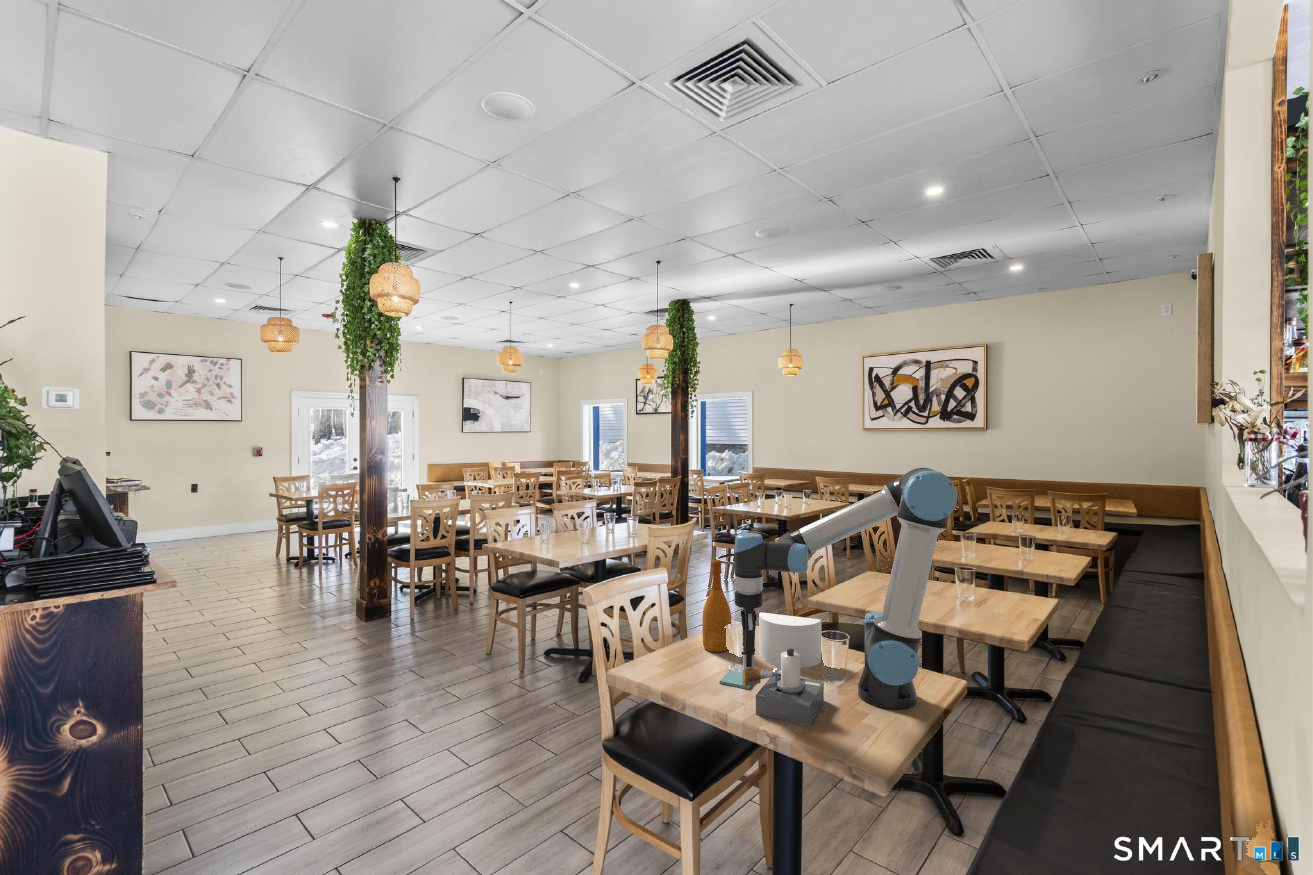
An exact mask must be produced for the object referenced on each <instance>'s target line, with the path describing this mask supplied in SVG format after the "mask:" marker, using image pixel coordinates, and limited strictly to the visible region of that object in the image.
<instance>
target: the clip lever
mask: <svg viewBox="0 0 1313 875" xmlns="http://www.w3.org/2000/svg"><path fill="white" fill-rule="evenodd" d="M742 672H743V686H745V687H746V686H750V685H753V686H754V685H757V684H761V680H764V679H769V678H770V677H773V676H781V667H780V666H775V665H774V666H773V667H772V669H771V670H767V671H762V672H761V667H759V666H755V667H754V668H750V669H746V670H742Z"/></svg>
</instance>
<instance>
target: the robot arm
mask: <svg viewBox="0 0 1313 875" xmlns="http://www.w3.org/2000/svg"><path fill="white" fill-rule="evenodd" d="M957 500H958V494H957V489H956V487H955V484H954V483H953V481H952V480H951V479H950V477H948V476H947V475H946V474H944V473H942V472H941V471H936V470H935V469H932V468H928V467H917V468H914V469H912V470H910V471H907V472H905V474H902V475H901V476H899V477H898V478H896V479H894V480H892V481H890V482H888V483H886V484H884V485H883V488H882V489H881V490H880V491H878V492H876V493H874V494H872V495H869V496H867V497H865V498H863V499H861V500H859V501H857V502H854V503H853V504H850V505H848V506H845V507H843V508H842V509H840V510H837V511H835V512H833V513H830V514H828V515H826V516H824V517H821V518H820V519H818V520H815V521H814V522H811V523H809V524H807V525H805V526H802V527H800V528H799V529H796V530H795V531H792V532H787V533H784V534H783V535H781V536H780V537H779V538H778V540H776V542H766V541H764V539H763V535H762V534H760V533H754V532H742V533H738V534H737V535H736V536H735V538H734V551H733V552H734V553H733V554H734V578H732V579H731V580H732V582H733V583H734V589H735V591H734V605H735V606H736V607H738V608H741V610H740V618H741V627H742V644H741V645H742V647H743V648H742V650H743V651H741V655H742V656H743V657H742V658H743V663H742V664H743V666H742V667H743V670H746V669H750V668H755V667H754V665H755V663H754V662H755V660H754V659H755V655H756V648H755V647H756V646H755V644H756V628H757V624H756V623H757V622H756V621H757V613H756V610H755V609H759V608H761V607H762V606H763V604H764V603H763V600H764V599H763V597H764V596H763V592H762V591H763V590H764V588H763V587H764V585H763V584H764V583H763V580H764V578H763V576H764V575H763V571H769V572H771V571H772V572H781V573H782V572H783V573H785V572H786V573H793V574H796V573H801V574H802V573H806V572H807V571H808V569H809V555H810V554H812V553H816V552H817V551H819V550H821V549H823V548H826V547H828V546H830V545H832V544H836V543H837V542H840V541H842V540H844V539H846V538H848V537H850V536H853V535H855V534H857V533H859V532H862V531H864V530H867V529H869V528H871V527H873V526H875V525H877V524H879V523H882V522H884V521H886V520H889V519H891V518H894V517H896V518H897V520H898V521H899V523H900V525H901V527H900V530H899V536H898V541H897V544H896V550H895V554H894V558H893V563H892V566H891V572H890V576H889V579H888V580H889V582H888V585H887V589H886V595H885V599H884V603H883V608H882V611H870V612H868V613H866V614H865V616H864V621H863V625H864V665H863V666H864V667H863V670H862V672H861V676H860V678H859V680H858V683H857V684H858V685H857V695H858V697H859V698H860V699H861V700H863V701H864V702H865V703H867V704H871V705H872V706H876V707H879V708H884V709H891V710H903V709H904V710H905V709H909V708H912V707H914V706H915V705H916V704H917V691H916V688H915V685H914V681H913V680H914V678H916V677H917V675H918V672H919V669H920V668H919V667H920V661H919V657H918V655H919V650H920V647H921V646H920V645H921V642H922V636H923V634H922V631H921V630H920V628H919V627H918V625H919V620H920V615H921V611H922V606H923V602H924V598H925V593H926V589H927V586H928V580H929V576H930V573H931V572H930V571H931V569H932V568H931V567H932V562H933V559H934V555H935V550H936V545H937V540H938V537H939V535H940V533H942V532H944V531H946V530H947V527H948V524H949V518H950V515H951V514H952V513H953V511H954V510H955V508H956V505H957ZM743 670H742V671H743Z"/></svg>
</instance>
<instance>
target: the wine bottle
mask: <svg viewBox="0 0 1313 875" xmlns="http://www.w3.org/2000/svg"><path fill="white" fill-rule="evenodd" d="M722 572H723V571H722V561H721V560H720V559H712V561H711V573H712V584H711V586H710V588H709V589H707V591H706V594H705V597H706V600H705V603H704V607H703V609H702V624H701V626H702V646H703V648H704V649H705V650H707V651H709V652H713V653H723V652H727V651H728V650H727V647H726V628H724V627H725V626H726V625H728V624H731V625H732V612H731V608H730V604H729V602H728V600H727V597H726V595H725V593H724V590H723V588H722V576H721V574H722ZM726 650H727V651H726Z"/></svg>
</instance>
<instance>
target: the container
mask: <svg viewBox="0 0 1313 875" xmlns="http://www.w3.org/2000/svg"><path fill="white" fill-rule="evenodd" d="M758 614H759V615H758V621H759V622H758V649H759V650H758V655H759V658H760V659H761V661H764V662H766V663H767V664H770V665H773V666H774V667H775V666H780V667H781V653H783V652H787V649H788V648H792V649H794V652H795V653H798V654H799V655H800V669H803V668H804V669H805V668H811V667H815V666H817V665H819V664H820V663H821V662H822V661H821V637H822V619H820V618H810V617H803V616H794V615H784V614H777V613H771V612H770V613H769V612H759V613H758Z"/></svg>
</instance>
